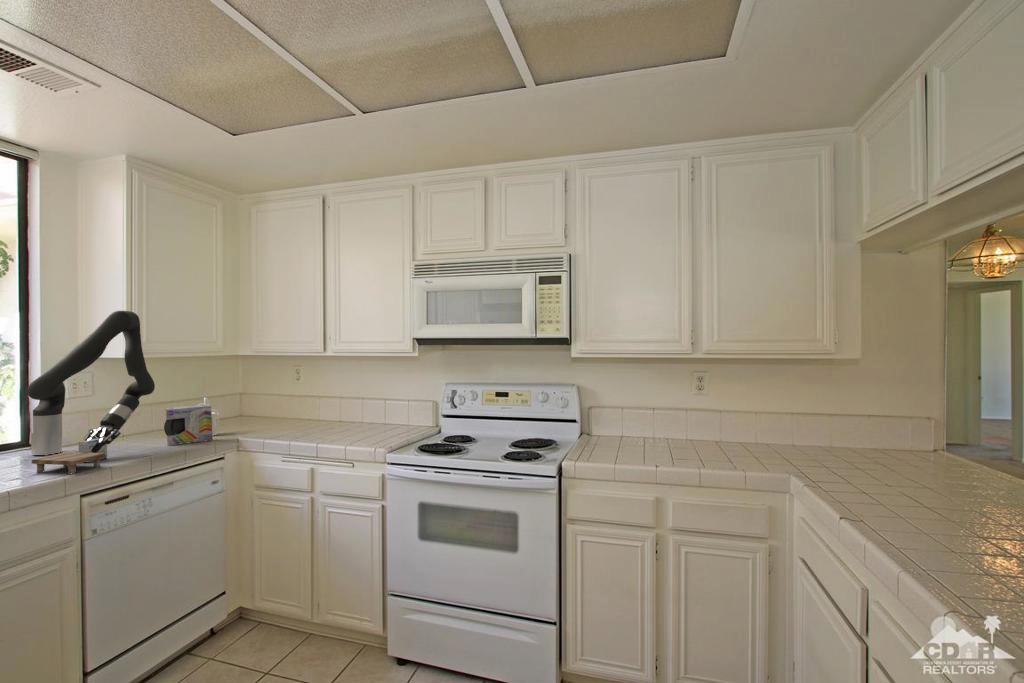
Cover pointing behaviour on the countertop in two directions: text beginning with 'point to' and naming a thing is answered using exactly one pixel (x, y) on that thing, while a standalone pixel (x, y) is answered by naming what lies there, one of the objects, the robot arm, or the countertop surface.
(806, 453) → the countertop surface
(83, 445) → the medicine box
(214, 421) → the white french press
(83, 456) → the walnut shelf
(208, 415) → the cake pan box
